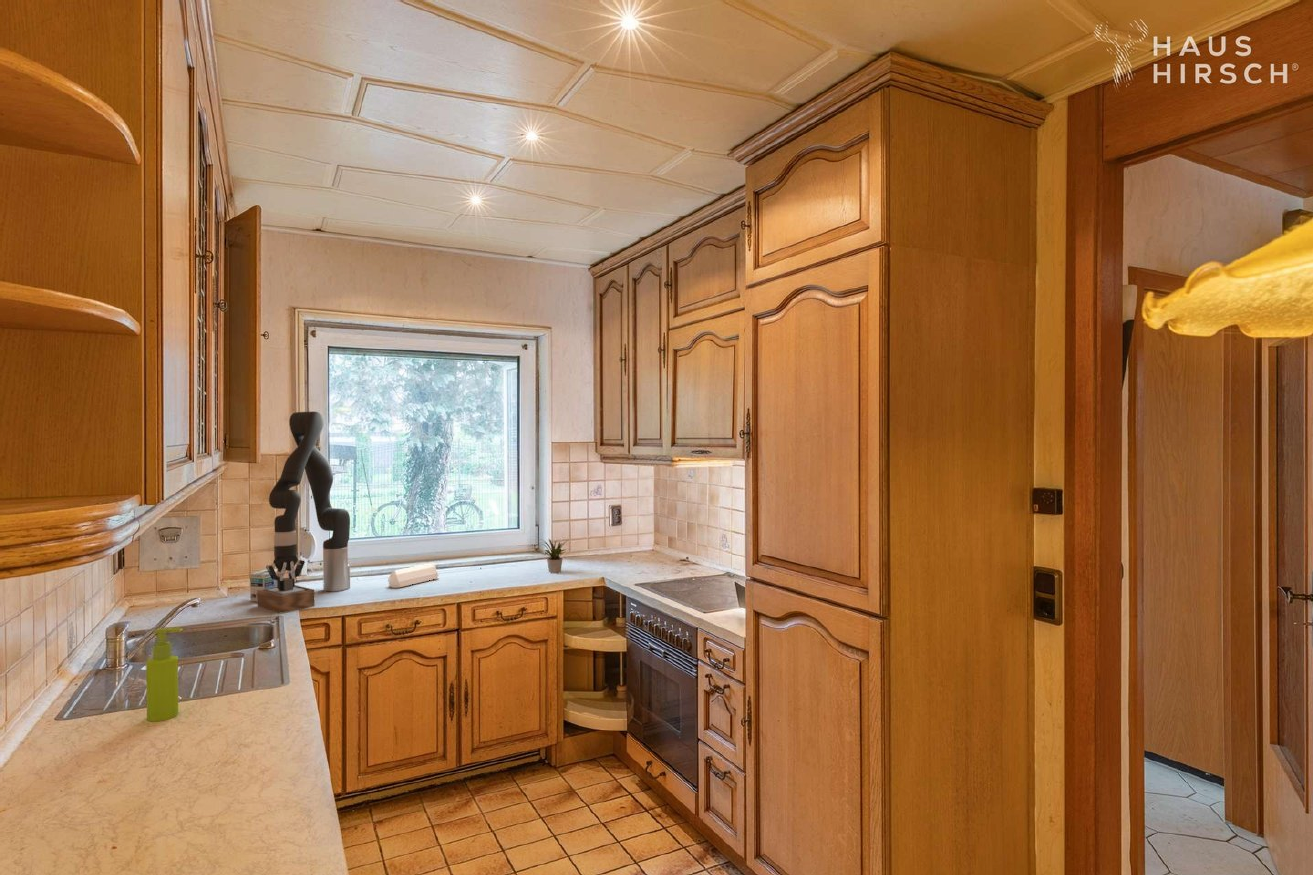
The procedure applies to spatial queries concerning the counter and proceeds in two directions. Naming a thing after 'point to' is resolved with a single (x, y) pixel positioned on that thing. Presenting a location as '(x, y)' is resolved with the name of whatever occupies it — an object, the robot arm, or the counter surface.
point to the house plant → (554, 557)
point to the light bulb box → (260, 582)
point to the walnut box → (285, 600)
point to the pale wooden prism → (412, 575)
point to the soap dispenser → (162, 679)
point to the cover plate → (276, 591)
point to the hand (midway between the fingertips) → (286, 589)
